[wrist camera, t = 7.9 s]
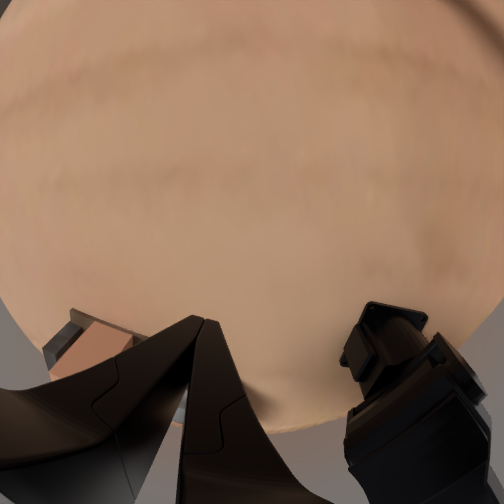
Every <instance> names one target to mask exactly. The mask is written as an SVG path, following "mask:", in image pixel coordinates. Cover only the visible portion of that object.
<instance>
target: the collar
mask: <svg viewBox="0 0 504 504" xmlns="http://www.w3.org/2000/svg"><path fill="white" fill-rule="evenodd" d="M132 346H133V335H131V334H128V333H125V332H122V331H120V330H117V329H114V328H112V327H109V326H106V325H104V324H101V323H99V322H96V321H94V322H93V323H92V325H91V326H90V327H89V328H88V329H87V330H86V331H85V332H84V333H83V334H82V335H81V336H80V337H79V338H78V339H77V341H76V342H75V343H74V344H73V345H72V346H71V347H70V348H69V349H68V350H67V351H66V353H65V354H64V355H63V356H62V357H61V358H60V359H59V360H58V362H57V363H56V364H55V365H54V366H53V367H52V368H51V370H50V371H49V375H50V378H51V380H52V381H55V380H58V379H61V378H64V377H67V376H70V375H72V374H75V373H77V372H80V371H83V370H85V369H88V368H90V367H92V366H94V365H96V364H98V363H101V362H103V361H105V360H107V359H109V358H111V357H114V356H115V355H117V354H119V353H120V352H122V351H124V350H126V349H128V348H130V347H132Z"/></svg>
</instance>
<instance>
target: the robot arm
mask: <svg viewBox="0 0 504 504" xmlns="http://www.w3.org/2000/svg"><path fill="white" fill-rule="evenodd" d="M373 306H374V307H373ZM370 307H373V309H371V310H369V309H370ZM422 317H423V319H421V318H422ZM427 319H428V316H427V315H426V313H424V312H420V311H415V310H411V309H406V308H401V307H397V306H392V305H387V304H383V303H378V302H373V301H371V302H368V303H367V304H366V306H365V308H364V310H363V312H362V314H361V317H360V319H359V321H358V323H357V324H356V325H355V326H354V328H353V330H352V332H351V334H350V336H349V338H348V340H347V342H346V344H345V346H344V352H343V354H342V356H341V358H340V360H339V362H340V365H341V366H342V367H349V368H350V370H351V373H352V376H353V379H354V381H355V382H359V385H360V388H361V391H362V394H363V397H364V400H365V401H363V402H362V403H361V404H360V405H358V406H357V407H356V408H355V407H354V408H352V409H351V410H349V411H348V416H347V426H346V436H345V438H344V443H343V444H344V454H345V455H344V456H345V459H346V461H347V463H348V465H349V468H348V471H349V472H350V473H351V474H352V475H353V476H354V477H355V479H356V480H357V481H358V482H359V484H360V485H361V487H362V488H363V490H364V492H365V494H366V496H367V498H368V501H369V503H370V504H504V489H503V487H502V485H501V483H500V482H499V480H498V478H497V476H496V474H495V473H494V471H493V469H492V467H491V466H490V453H491V431H492V421H491V417H490V415H489V414H488V412H487V411H486V409H485V408H484V406H483V405H482V403H481V401H482V400H483V399H484V398H485V397H486V396H487V393H486V391H485V389H484V387H483V385H482V383H481V382H480V380H479V378H478V376H477V375H476V373H475V372H474V371H473V370H472V368H471V367H470V366H469V364H468V363H467V362H466V361H465V359H464V358H463V357H462V356H461V355H460V354H459V353H458V351H457V350H456V349H455V348H454V347H453V346H452V345H451V344H450V343H449V342H448V341H447V340H446V339H445V338H444V337H443V336H442V335H441V334H440V333H439V332H437V333H436V334H435V335H434V337H433V339H432V341H431V342H430V343H429V342H428V341H427V340H426V338H425V337H424V336H423V334H422V333H421V331H422V329H423V327H424V325H425V323H426V321H427ZM346 360H347V361H346ZM344 361H346V362H344ZM187 386H188V391H187V398H186V406H185V414H184V422H183V430H182V440H181V448H180V459H179V468H178V479H177V491H176V503H175V504H334V503H332V502H330V501H327V500H326V499H323V498H321V497H319V496H317V495H315V494H314V493H312V492H310V491H309V490H308V489H306V488H305V487H304V486H303V485H302V484H301V483H299V481H298V480H297V479H296V478H295V477H294V475H293V474H292V472H291V471H290V470H289V468H288V467H287V465H286V464H285V462H284V461H283V459H282V458H281V456H280V455H279V453H278V452H277V450H276V449H275V447H274V446H273V444H272V443H271V441H270V440H269V438H268V437H267V435H266V433H265V431H264V430H263V428H262V426H261V425H260V423H259V421H258V419H257V417H256V415H255V413H254V410H253V408H252V406H251V404H250V401H249V399H248V397H247V394H246V392H245V389H244V387H243V384H242V382H241V379H240V377H239V374H238V371H237V369H236V366H235V364H234V361H233V359H232V356H231V353H230V351H229V348H228V345H227V343H226V340H225V337H224V334H223V332H222V329H221V326H220V323H219V322H218V321H214V320H211V319H204V318H203V317H199V316H196V315H190V316H188V317H186V318H185V319H183V320H181V321H179V322H177V323H175V324H173V325H172V326H170V327H168V328H166V329H164V330H162V331H160V332H159V333H157V334H155V335H153V336H151V337H149V338H147V339H145V340H143V341H142V342H140V343H138V344H136V345H134V346H132V347H130V348H128V349H126V350H124V351H122V352H120V353H119V354H117V355H115V356H114V357H111V358H109V359H107V360H105V361H103V362H101V363H98V364H96V365H94V366H92V367H90V368H88V369H85V370H83V371H80V372H77V373H75V374H72V375H70V376H67V377H64V378H61V379H58V380H55V381H52V382H49V383H46V384H43V385H40V386H37V387H34V388H30V389H27V390H6V389H2V388H0V504H134V503H135V500H136V498H137V496H138V493H139V491H140V489H141V487H142V485H143V483H144V481H145V478H146V476H147V474H148V472H149V469H150V467H151V465H152V463H153V461H154V459H155V456H156V454H157V452H158V450H159V448H160V445H161V443H162V441H163V439H164V437H165V435H166V433H167V430H168V428H169V426H170V424H171V422H172V419H173V417H174V415H175V413H176V411H177V409H178V406H179V404H180V402H181V400H182V398H183V395H184V393H185V391H186V389H187Z"/></svg>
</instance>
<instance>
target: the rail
mask: <svg viewBox="0 0 504 504" xmlns="http://www.w3.org/2000/svg"><path fill="white" fill-rule="evenodd" d="M70 318H71V321H69V322H68V323H67V324H66V325H65V326H64V327H63V328H62V329H61V330H60V331H59V332H58V333H57V334H56V335H55V336H54V337H53V338H52V339H51V340H50V341H49V342H48V343H47V344H46V345H45V346H44V347H43V348H42V350H43V353H44V357H45V361H46V364H47V367H48V371H50V370H51V368H52V367H53V366H54V365H55V364H56V363H57V362H58V360H59V359H60V358H61V357H62V356H63V355H64V354H65V353H66V351H67V350H68V349H69V348H70V347H71V346H72V345H73V344H74V343H75V342H76V341H77V339H78V338H79V337H80V336H81V335H82V334H83V333H84V332H85V331H86V330H87V329H88V328H89V327H90V326H91V325H92V323H93V322H94V321H96V322H99V323H101V324H104V325H106V326H109V327H112V328H114V329H117V330H120V331H122V332H125V333H128V334H131V335H133V346H134V345H136V344H138V343H140V342H142V341H143V340H145V339H147V338H149V337H147V336H144V335H141V334H138V333H135V332H132V331H129V330H126V329H124V328H121V327H118V326H115V325H113V324H110V323H107V322H105V321H102V320H100V319H97V318H95V317H92V316H90V315H87V314H85V313H82V312H80V311H78V310H75V309H73V308H72V309H71V310H70ZM187 391H188V386H187V389H186V391H185V393H184V395H183V398H182V400H181V402H180V404H179V406H178V409H177V411H176V413H175V415H174V417H173V419H172V421H175V422H178V423H182V424H183V422H184V414H185V406H186V398H187Z"/></svg>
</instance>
